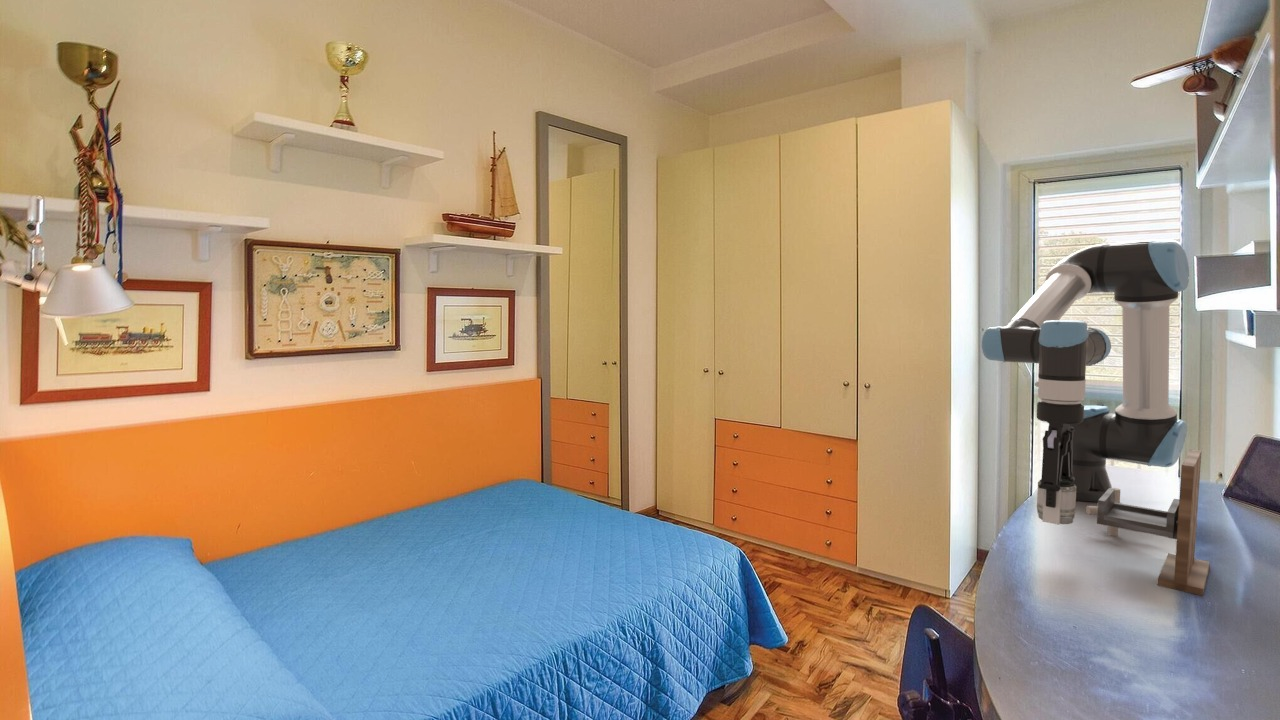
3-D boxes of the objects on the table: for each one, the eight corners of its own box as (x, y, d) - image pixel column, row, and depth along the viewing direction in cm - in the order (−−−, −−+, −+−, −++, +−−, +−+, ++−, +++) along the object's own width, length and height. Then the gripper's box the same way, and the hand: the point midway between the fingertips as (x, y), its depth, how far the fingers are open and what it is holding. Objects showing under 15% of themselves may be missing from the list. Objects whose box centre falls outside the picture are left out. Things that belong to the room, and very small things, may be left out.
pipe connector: (1152, 544, 130) (1155, 497, 129) (1098, 541, 132) (1101, 494, 131) (1125, 527, 139) (1128, 483, 139) (1075, 525, 141) (1077, 481, 141)
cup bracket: (1107, 546, 129) (1113, 440, 127) (1209, 567, 118) (1217, 452, 116) (1092, 569, 118) (1098, 453, 116) (1202, 595, 107) (1211, 468, 105)
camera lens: (1029, 514, 126) (1030, 475, 125) (1060, 513, 126) (1062, 475, 125) (1050, 525, 119) (1051, 485, 119) (1082, 524, 119) (1084, 484, 119)
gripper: (1050, 393, 130) (1045, 501, 132) (1024, 405, 116) (1019, 526, 118) (1094, 396, 124) (1089, 509, 127) (1072, 409, 111) (1067, 536, 113)
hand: (1055, 517), depth 123 cm, fingers closed on camera lens, 6 cm apart
